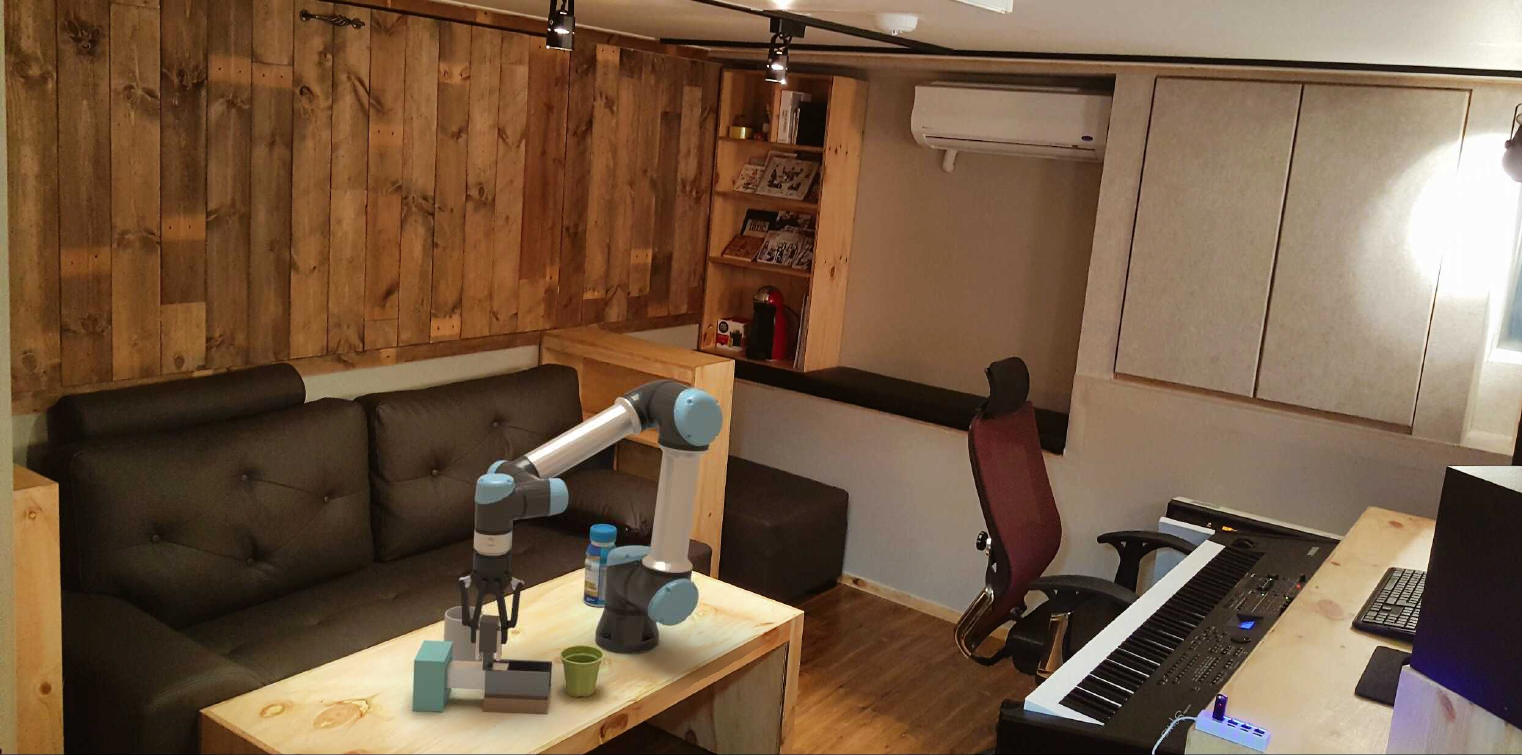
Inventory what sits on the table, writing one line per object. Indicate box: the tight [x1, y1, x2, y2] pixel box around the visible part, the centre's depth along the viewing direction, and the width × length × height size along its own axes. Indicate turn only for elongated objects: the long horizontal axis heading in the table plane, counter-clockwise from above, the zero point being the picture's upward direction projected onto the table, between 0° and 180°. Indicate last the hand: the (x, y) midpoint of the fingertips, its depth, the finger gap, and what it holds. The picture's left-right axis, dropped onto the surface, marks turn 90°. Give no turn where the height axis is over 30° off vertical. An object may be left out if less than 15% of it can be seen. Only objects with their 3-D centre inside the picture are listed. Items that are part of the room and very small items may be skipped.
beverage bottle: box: [583, 523, 618, 608], centre depth 308 cm, size 8×8×20 cm
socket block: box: [412, 639, 453, 713], centre depth 249 cm, size 6×10×11 cm, turn 4°
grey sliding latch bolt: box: [445, 614, 509, 691], centre depth 248 cm, size 16×4×15 cm, turn 94°
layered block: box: [482, 658, 553, 715], centre depth 251 cm, size 13×8×8 cm, turn 94°
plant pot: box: [559, 644, 605, 698], centre depth 258 cm, size 9×9×9 cm
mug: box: [443, 606, 491, 662], centre depth 271 cm, size 12×8×11 cm
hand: (488, 657), depth 249 cm, fingers closed on grey sliding latch bolt, 3 cm apart
